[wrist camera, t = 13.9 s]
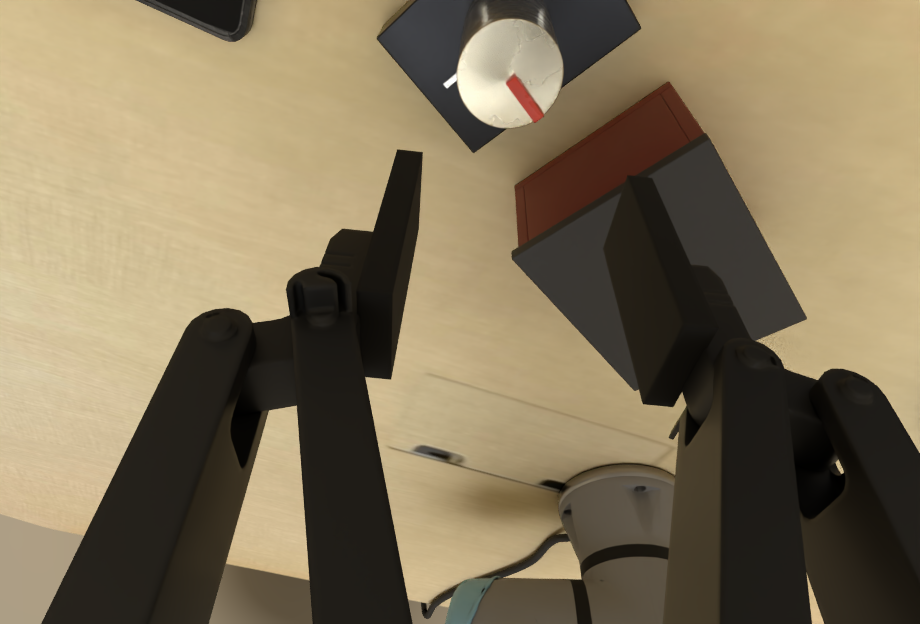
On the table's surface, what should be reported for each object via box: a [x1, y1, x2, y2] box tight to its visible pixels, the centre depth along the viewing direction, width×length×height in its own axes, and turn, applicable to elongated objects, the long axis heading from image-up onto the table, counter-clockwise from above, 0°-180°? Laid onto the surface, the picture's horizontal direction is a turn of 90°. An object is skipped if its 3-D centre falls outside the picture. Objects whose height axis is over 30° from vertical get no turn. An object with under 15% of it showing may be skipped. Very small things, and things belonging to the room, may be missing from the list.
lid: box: [512, 133, 807, 391], centre depth 34 cm, size 15×12×1 cm
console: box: [377, 0, 641, 153], centre depth 32 cm, size 12×9×3 cm
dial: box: [456, 0, 564, 128], centre depth 28 cm, size 5×5×7 cm
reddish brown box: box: [515, 82, 704, 247], centre depth 37 cm, size 15×12×9 cm
